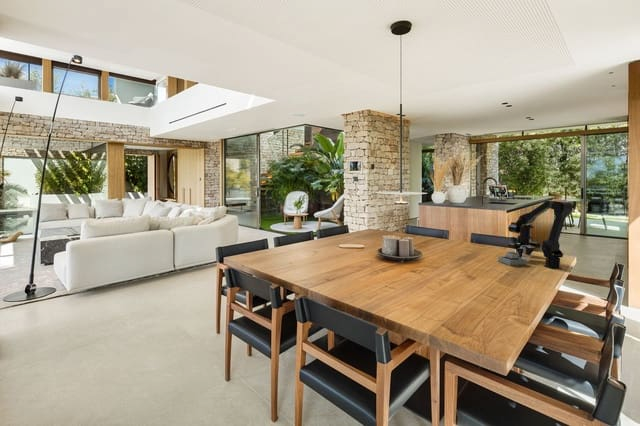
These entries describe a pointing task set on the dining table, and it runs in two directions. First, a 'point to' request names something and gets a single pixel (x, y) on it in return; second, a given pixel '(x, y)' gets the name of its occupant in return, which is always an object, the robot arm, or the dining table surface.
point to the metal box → (512, 256)
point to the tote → (512, 261)
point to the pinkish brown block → (525, 257)
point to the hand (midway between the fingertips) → (523, 258)
